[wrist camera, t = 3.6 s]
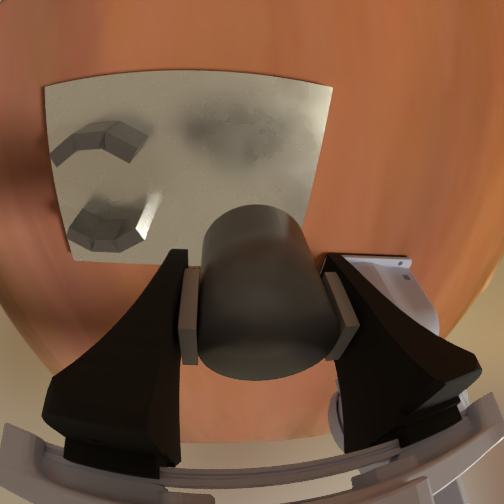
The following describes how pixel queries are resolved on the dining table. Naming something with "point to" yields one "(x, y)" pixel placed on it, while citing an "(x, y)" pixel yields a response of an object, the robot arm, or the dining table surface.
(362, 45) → the dining table surface
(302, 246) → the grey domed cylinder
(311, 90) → the beige plate
